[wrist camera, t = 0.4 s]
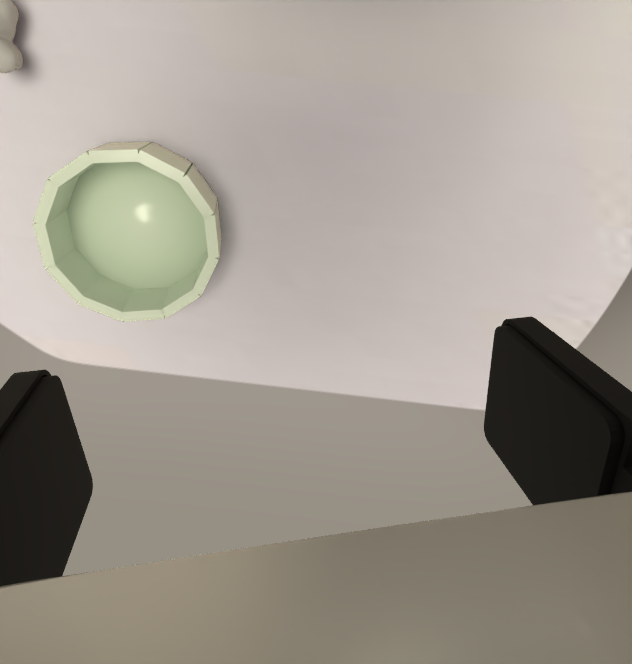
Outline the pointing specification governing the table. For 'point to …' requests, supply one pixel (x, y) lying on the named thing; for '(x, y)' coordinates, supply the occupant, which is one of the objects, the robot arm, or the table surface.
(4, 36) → the rubber duck
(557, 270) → the table surface
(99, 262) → the pale green bowl
